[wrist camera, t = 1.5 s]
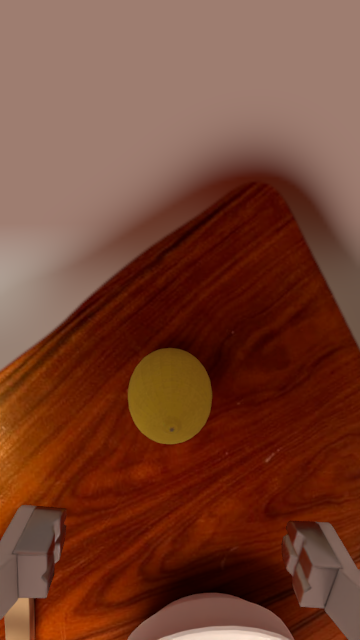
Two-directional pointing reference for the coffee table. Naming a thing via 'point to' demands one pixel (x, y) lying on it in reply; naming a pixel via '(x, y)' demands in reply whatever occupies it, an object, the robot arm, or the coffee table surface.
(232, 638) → the bowl
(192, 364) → the lemon
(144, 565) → the coffee table surface
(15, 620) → the spatula
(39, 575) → the robot arm
